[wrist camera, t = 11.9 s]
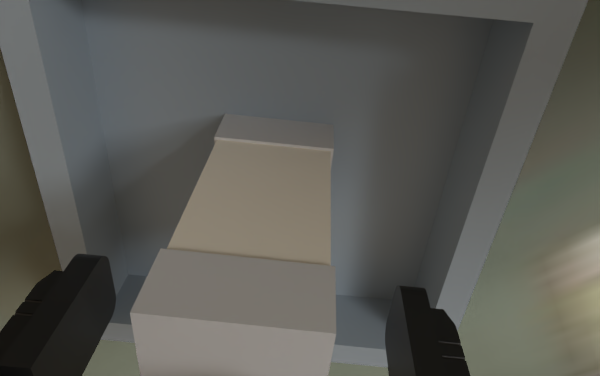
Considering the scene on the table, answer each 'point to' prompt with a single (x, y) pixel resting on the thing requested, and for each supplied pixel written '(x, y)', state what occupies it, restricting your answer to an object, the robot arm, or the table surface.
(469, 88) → the parts tray
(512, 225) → the table surface
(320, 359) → the block
